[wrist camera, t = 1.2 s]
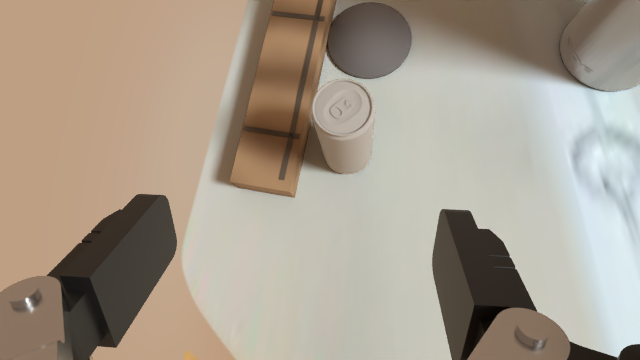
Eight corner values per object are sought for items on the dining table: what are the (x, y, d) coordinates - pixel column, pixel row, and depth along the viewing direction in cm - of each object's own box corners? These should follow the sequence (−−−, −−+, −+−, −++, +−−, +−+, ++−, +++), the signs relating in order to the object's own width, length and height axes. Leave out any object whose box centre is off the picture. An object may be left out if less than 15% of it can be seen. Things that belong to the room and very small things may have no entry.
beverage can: (381, 154, 41) (389, 108, 29) (345, 185, 40) (339, 150, 29) (349, 122, 42) (345, 64, 30) (314, 152, 41) (296, 105, 30)
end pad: (390, -7, 45) (391, -10, 44) (424, 59, 42) (425, 57, 42) (316, 23, 45) (315, 21, 44) (346, 91, 43) (345, 89, 42)
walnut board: (286, -13, 46) (281, -32, 43) (337, -7, 45) (336, -27, 42) (238, 187, 41) (229, 181, 38) (294, 197, 41) (289, 191, 38)
